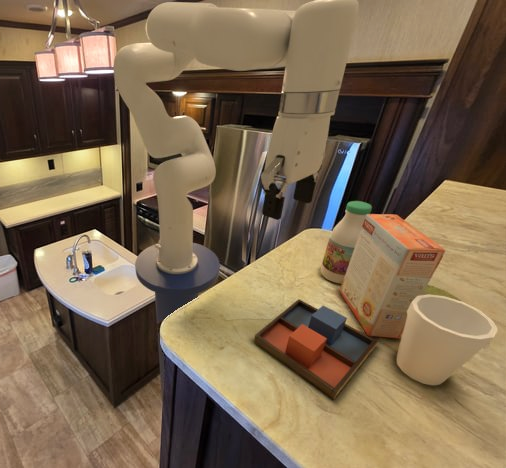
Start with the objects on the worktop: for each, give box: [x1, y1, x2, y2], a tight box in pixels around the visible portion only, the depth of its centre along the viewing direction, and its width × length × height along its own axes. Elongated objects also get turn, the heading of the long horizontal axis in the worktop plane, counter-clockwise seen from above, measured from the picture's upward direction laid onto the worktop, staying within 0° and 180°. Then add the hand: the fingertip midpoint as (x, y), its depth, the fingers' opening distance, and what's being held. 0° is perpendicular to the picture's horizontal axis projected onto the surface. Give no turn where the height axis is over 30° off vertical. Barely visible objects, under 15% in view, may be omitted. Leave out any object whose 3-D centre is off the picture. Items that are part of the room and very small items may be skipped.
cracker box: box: [339, 213, 447, 340], centre depth 58 cm, size 14×6×21 cm, turn 170°
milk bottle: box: [320, 200, 373, 285], centre depth 70 cm, size 8×8×20 cm
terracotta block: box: [285, 324, 327, 368], centre depth 53 cm, size 4×4×4 cm
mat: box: [423, 284, 461, 301], centre depth 63 cm, size 11×11×2 cm
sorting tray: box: [253, 298, 378, 400], centre depth 56 cm, size 15×16×2 cm
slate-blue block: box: [308, 305, 348, 345], centre depth 57 cm, size 4×4×4 cm
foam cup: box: [395, 294, 499, 386], centre depth 48 cm, size 10×9×13 cm
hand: (287, 208), depth 51 cm, fingers open, 9 cm apart
